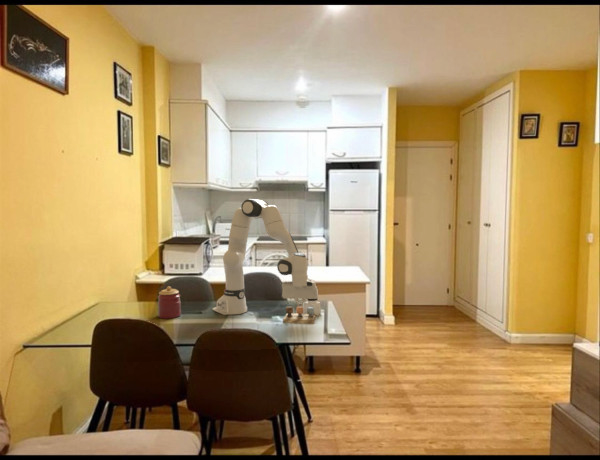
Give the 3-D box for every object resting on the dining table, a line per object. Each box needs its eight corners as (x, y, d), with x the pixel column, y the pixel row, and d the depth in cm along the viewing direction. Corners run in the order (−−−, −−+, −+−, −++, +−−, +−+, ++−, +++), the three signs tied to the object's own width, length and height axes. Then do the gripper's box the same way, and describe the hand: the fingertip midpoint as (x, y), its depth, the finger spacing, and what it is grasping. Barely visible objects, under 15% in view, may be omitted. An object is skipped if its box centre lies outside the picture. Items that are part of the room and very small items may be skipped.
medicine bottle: (320, 314, 235) (320, 294, 234) (313, 316, 230) (312, 296, 229) (311, 311, 240) (311, 292, 239) (304, 314, 235) (303, 294, 234)
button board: (283, 322, 219) (283, 318, 219) (287, 316, 231) (287, 312, 231) (313, 323, 216) (313, 320, 216) (316, 317, 228) (316, 314, 228)
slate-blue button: (306, 317, 221) (306, 308, 221) (307, 315, 225) (307, 306, 225) (313, 317, 220) (313, 309, 220) (314, 315, 224) (314, 307, 224)
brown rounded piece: (285, 316, 223) (285, 308, 223) (286, 314, 227) (286, 306, 227) (292, 317, 222) (292, 308, 222) (293, 315, 226) (293, 306, 226)
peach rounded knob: (295, 317, 222) (295, 308, 222) (297, 315, 226) (297, 306, 226) (302, 317, 221) (302, 308, 221) (304, 315, 225) (303, 306, 225)
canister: (169, 311, 243) (168, 283, 242) (185, 314, 238) (185, 285, 236) (153, 317, 232) (152, 287, 230) (170, 320, 226) (169, 289, 225)
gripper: (280, 282, 221) (281, 307, 222) (317, 283, 218) (317, 308, 219) (282, 280, 227) (283, 304, 228) (318, 281, 224) (318, 305, 225)
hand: (300, 306), depth 223 cm, fingers closed
